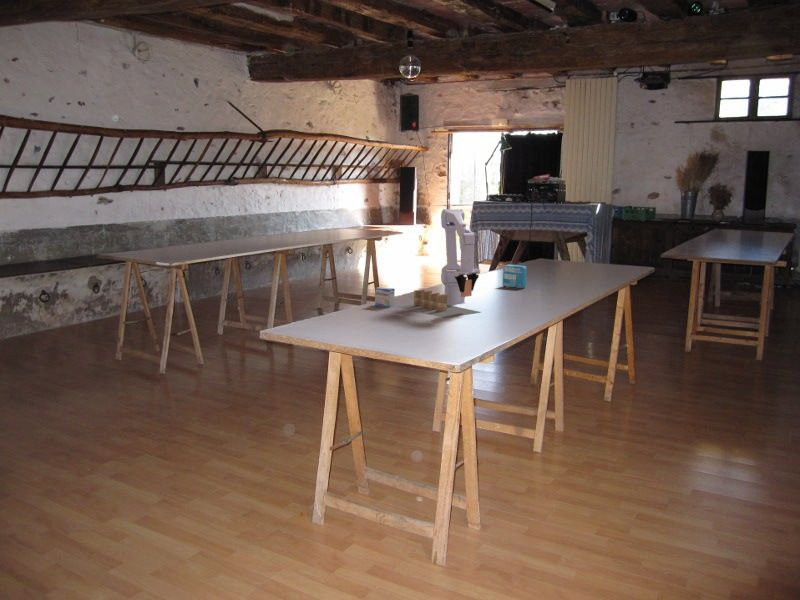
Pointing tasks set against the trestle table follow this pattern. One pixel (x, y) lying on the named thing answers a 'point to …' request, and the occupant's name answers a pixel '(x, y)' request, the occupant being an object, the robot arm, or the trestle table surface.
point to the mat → (449, 313)
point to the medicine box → (384, 297)
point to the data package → (514, 276)
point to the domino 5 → (467, 288)
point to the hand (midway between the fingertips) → (466, 291)
